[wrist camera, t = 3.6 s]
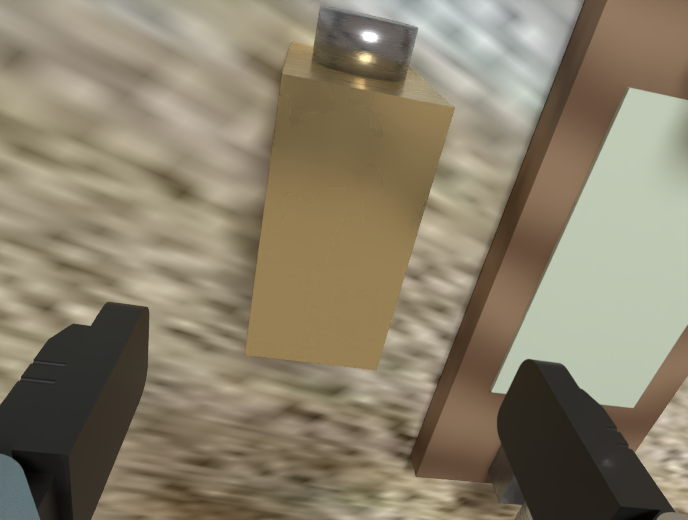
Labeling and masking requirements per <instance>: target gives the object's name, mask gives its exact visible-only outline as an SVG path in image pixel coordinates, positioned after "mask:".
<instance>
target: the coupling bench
mask: <svg viewBox="0 0 688 520" xmlns="http://www.w3.org/2000/svg"><path fill="white" fill-rule="evenodd" d="M526 359H533V360H541V361H548V362H556V363H561V364H563V365H564V366H565V367H566V368H567V370H568V371H569V373H570V374H571V376H572V377H573V379H574V380H575V382H576V383H577V385H578V386H579V388H580V389H583V390H584V391H585V392H587V393H588V394H589V395H590V396H591V397H592V398H593V399H594V400H595V401H597V402H598V403H599V404H600V405H601V406H602V407H603V408H604V409H605V411H606V412H607V414H608V415H609V417H610V418H611V419H612V421H613V422H614V424H615V425H616V427H617V432H621V434H622V435H623V437H624V438H625V440H626V441H627V443H628V444H629V449H632V450H633V451H634V453H635V451H636V450H637V448H638V447H639V445H640V444H641V442H642V441H643V440H644V438H645V437H646V435H647V434H648V432H649V431H650V429H651V428H652V427H653V425H654V424H655V422H656V421H657V419H658V418H659V416H660V415H661V413H662V412H663V411H664V409H665V408H666V406H667V405H668V403H669V402H670V400H671V399H672V398H673V396H674V395H675V393H676V392H677V390H678V389H679V387H680V386H681V385H682V383H683V382H684V380H685V379H686V377H687V376H688V0H585V3H584V5H583V8H582V10H581V13H580V16H579V18H578V21H577V24H576V26H575V29H574V31H573V34H572V37H571V39H570V42H569V44H568V47H567V50H566V52H565V55H564V57H563V60H562V63H561V65H560V68H559V70H558V73H557V76H556V78H555V81H554V84H553V86H552V89H551V91H550V94H549V97H548V99H547V102H546V104H545V107H544V110H543V112H542V115H541V117H540V120H539V123H538V125H537V128H536V130H535V133H534V136H533V138H532V141H531V144H530V146H529V149H528V151H527V154H526V157H525V159H524V162H523V164H522V167H521V170H520V172H519V175H518V177H517V180H516V183H515V185H514V188H513V190H512V193H511V196H510V198H509V201H508V204H507V206H506V209H505V211H504V214H503V217H502V219H501V222H500V224H499V227H498V230H497V232H496V235H495V237H494V240H493V243H492V245H491V248H490V250H489V253H488V256H487V258H486V261H485V264H484V266H483V269H482V271H481V274H480V277H479V279H478V282H477V284H476V287H475V290H474V292H473V295H472V297H471V300H470V303H469V305H468V308H467V310H466V313H465V316H464V318H463V321H462V324H461V326H460V329H459V331H458V334H457V337H456V339H455V342H454V344H453V347H452V350H451V352H450V355H449V357H448V360H447V363H446V365H445V368H444V370H443V373H442V376H441V378H440V381H439V384H438V386H437V389H436V391H435V394H434V397H433V399H432V402H431V404H430V407H429V410H428V412H427V415H426V417H425V420H424V423H423V425H422V428H421V430H420V433H419V436H418V438H417V441H416V444H415V446H414V449H413V451H412V454H411V457H412V461H413V466H414V471H415V476H416V477H423V478H436V479H448V480H460V481H472V482H484V483H492V484H493V487H494V490H495V493H496V495H497V498H498V501H499V503H506V504H519V505H522V507H521V508H520V510H519V512H518V513H517V515H516V517H515V519H514V520H533V519H532V516H531V514H530V511H529V509H528V507H527V504H526V502H525V499H524V497H523V494H522V492H521V490H520V487H519V485H518V482H517V480H516V478H515V475H514V473H513V470H512V468H511V465H510V463H509V461H508V458H507V456H506V453H505V451H504V449H503V446H502V444H501V441H500V439H499V436H498V431H497V416H498V411H499V408H500V406H501V404H502V402H503V400H504V398H505V396H506V393H507V391H508V389H509V387H510V385H511V383H512V381H513V379H514V377H515V375H516V373H517V371H518V368H519V366H520V365H521V363H522V362H523V361H524V360H526Z"/></svg>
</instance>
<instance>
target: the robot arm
mask: <svg viewBox="0 0 688 520" xmlns="http://www.w3.org/2000/svg"><path fill="white" fill-rule="evenodd" d="M148 340H149V309H148V307H144V306H137V305H129V304H122V303H114V302H107V303H106V304H105V305H104V306H103V308H102V309H101V311H100V312H99V314H98V315H97V317H96V319H95V320H94V322H93V323H92V325H91V326H87V325H79V324H72V325H70V326H69V327H67V328H65V329H64V330H62V331H61V332H59V333H58V334H56V335H55V336H53V337H52V338H50V339H49V340H48V341H47V342H46V344H45V345H44V346H43V348H42V349H41V350H40V352H39V353H38V354H37V356H36V357H35V359H34V362H33V364H30V365H29V367H28V368H27V369H26V371H25V372H24V374H23V375H22V376H21V380H20V381H18V382H17V383H16V384H15V386H14V387H13V388H12V390H11V391H10V393H9V394H8V395H7V397H6V398H5V399H4V401H3V402H2V403H1V405H0V520H91V519H92V516H93V514H94V511H95V509H96V506H97V504H98V501H99V499H100V497H101V494H102V492H103V489H104V487H105V484H106V482H107V479H108V477H109V475H110V472H111V470H112V467H113V465H114V462H115V460H116V457H117V455H118V453H119V450H120V448H121V445H122V443H123V440H124V438H125V435H126V433H127V431H128V428H129V426H130V423H131V421H132V418H133V416H134V413H135V411H136V409H137V406H138V404H139V401H140V399H141V396H142V393H143V390H144V386H145V381H146V376H147V368H148ZM497 431H498V436H499V439H500V441H501V444H502V446H503V449H504V451H505V453H506V456H507V458H508V461H509V463H510V465H511V468H512V470H513V473H514V475H515V478H516V480H517V482H518V485H519V487H520V490H521V492H522V494H523V497H524V499H525V502H526V504H527V507H528V509H529V511H530V514H531V516H532V519H533V520H688V516H687V515H684V514H681V513H676V512H675V511H674V509H673V508H672V507H671V505H670V504H669V502H668V501H667V499H666V498H665V496H664V495H663V493H662V492H661V491H660V489H659V488H658V486H657V485H656V483H655V482H654V480H653V479H652V477H651V476H650V475H649V473H648V472H647V470H646V469H645V467H644V466H643V464H642V463H641V462H640V460H639V459H638V457H637V456H636V454H635V453H634V451H633V450H632V449H629V444H628V443H627V441H626V440H625V438H624V437H623V435H622V434H621V432H617V427H616V425H615V424H614V422H613V421H612V419H611V418H610V417H609V415H608V414H607V412H606V411H605V409H604V408H603V407H602V406H601V405H600V404H599V403H598V402H597V401H595V400H594V399H593V398H592V397H591V396H590V395H589V394H588V393H587V392H585V391H584V390H583V389H580V388H579V386H578V385H577V383H576V382H575V380H574V379H573V377H572V376H571V374H570V373H569V371H568V370H567V368H566V367H565V366H564V365H563V364H561V363H556V362H548V361H541V360H533V359H526V360H524V361H523V362H522V363H521V365H520V366H519V368H518V371H517V373H516V375H515V377H514V379H513V381H512V383H511V385H510V387H509V389H508V391H507V393H506V396H505V398H504V400H503V402H502V404H501V406H500V408H499V411H498V416H497Z"/></svg>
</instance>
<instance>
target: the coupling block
mask: <svg viewBox="0 0 688 520" xmlns="http://www.w3.org/2000/svg"><path fill="white" fill-rule="evenodd" d="M417 31H418V28H417V27H415V26H411V25H408V24H404V23H401V22H397V21H393V20H389V19H385V18H381V17H376V16H372V15H368V14H363V13H359V12H354V11H349V10H344V9H339V8H333V7H327V6H320V10H319V16H318V23H317V29H316V35H315V42H314V47H313V46H308V45H303V44H298V43H294V42H291V44H290V48H289V51H288V55H287V58H286V62H285V65H284V69H283V72H282V78H281V85H280V93H279V100H278V108H277V115H276V123H275V130H274V138H273V145H272V153H271V160H270V168H269V175H268V183H267V190H266V198H265V205H264V213H263V220H262V228H261V235H260V243H259V250H258V258H257V265H256V273H255V280H254V288H253V295H252V303H251V311H250V318H249V326H248V333H247V341H246V348H245V355H248V356H257V357H266V358H275V359H283V360H292V361H301V362H310V363H318V364H327V365H336V366H345V367H354V368H362V369H371V370H377V366H378V363H379V360H380V356H381V353H382V350H383V346H384V343H385V340H386V336H387V333H388V330H389V326H390V323H391V320H392V316H393V313H394V310H395V306H396V303H397V300H398V296H399V293H400V290H401V286H402V283H403V280H404V276H405V273H406V269H407V266H408V263H409V259H410V256H411V253H412V249H413V246H414V243H415V239H416V236H417V233H418V229H419V226H420V223H421V219H422V216H423V213H424V209H425V206H426V203H427V199H428V196H429V193H430V189H431V186H432V183H433V179H434V176H435V173H436V169H437V166H438V162H439V159H440V156H441V152H442V149H443V146H444V142H445V139H446V136H447V132H448V129H449V126H450V122H451V119H452V116H453V112H454V109H455V107H454V106H452V105H451V104H450V103H449V102H448V101H447V100H446V99H445V98H444V97H442V96H441V95H440V94H439V93H438V92H437V91H436V90H435V89H434V88H432V87H431V86H430V85H429V84H428V83H427V82H426V81H425V80H424V79H422V78H421V77H420V76H419V75H418V74H417V73H416V72H415V71H414V70H412V69H411V68H410V67H409V64H410V60H411V55H412V51H413V47H414V43H415V39H416V35H417Z"/></svg>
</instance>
